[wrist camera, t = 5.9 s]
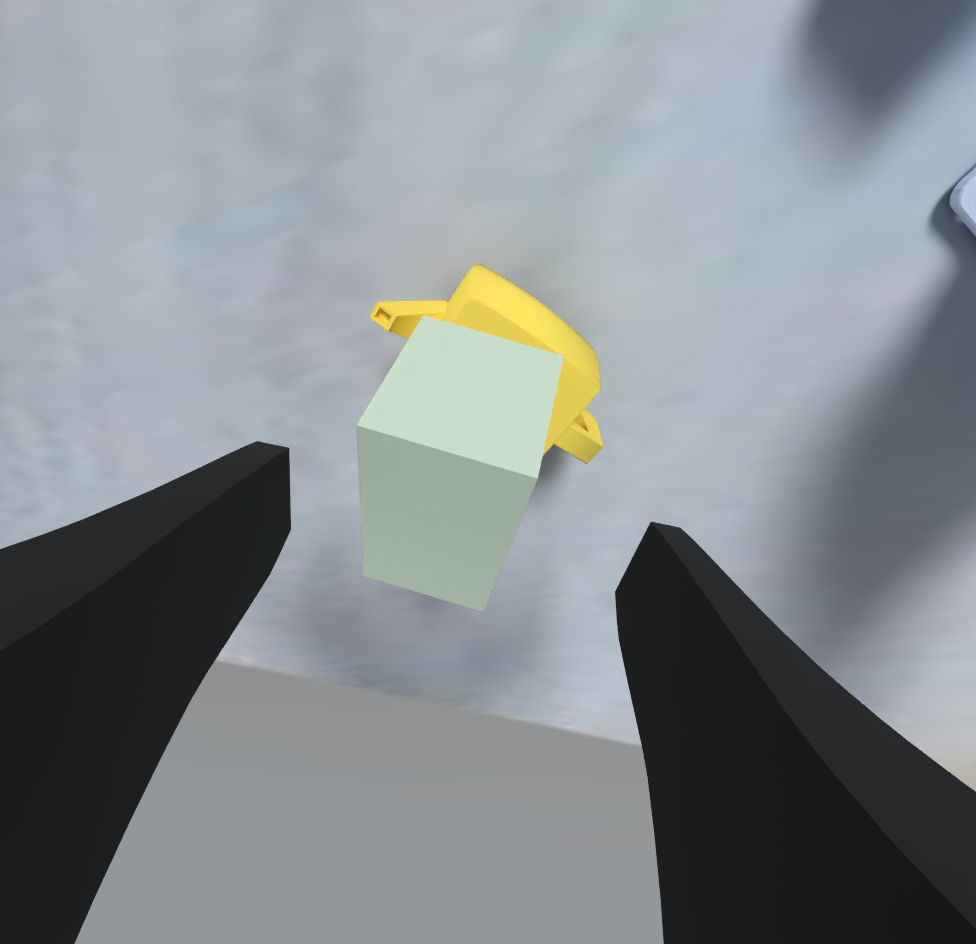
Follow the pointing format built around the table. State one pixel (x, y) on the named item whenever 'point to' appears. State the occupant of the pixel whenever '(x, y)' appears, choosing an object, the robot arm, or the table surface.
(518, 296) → the teapot
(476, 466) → the sage brick
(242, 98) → the table surface
